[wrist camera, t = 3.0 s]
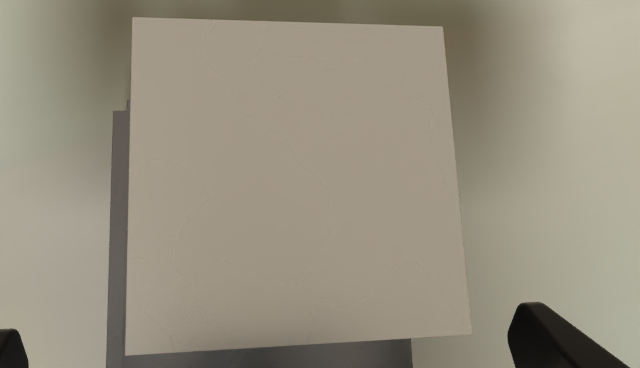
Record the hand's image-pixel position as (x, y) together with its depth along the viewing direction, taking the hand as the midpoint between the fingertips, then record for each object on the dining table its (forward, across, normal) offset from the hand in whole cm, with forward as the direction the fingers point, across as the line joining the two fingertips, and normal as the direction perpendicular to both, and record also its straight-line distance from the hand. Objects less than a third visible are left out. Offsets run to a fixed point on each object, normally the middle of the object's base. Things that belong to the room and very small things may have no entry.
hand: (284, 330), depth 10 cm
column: (+8, 0, +5) cm, 9 cm away
